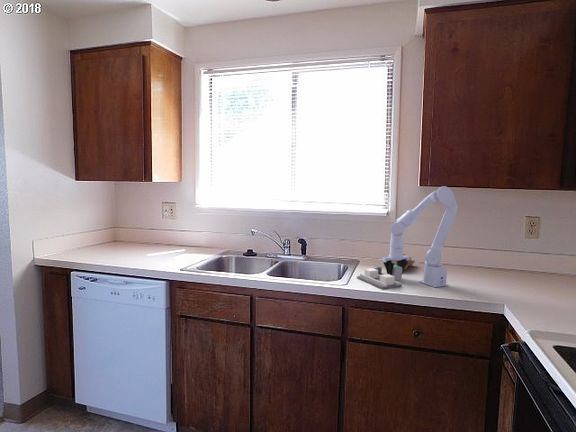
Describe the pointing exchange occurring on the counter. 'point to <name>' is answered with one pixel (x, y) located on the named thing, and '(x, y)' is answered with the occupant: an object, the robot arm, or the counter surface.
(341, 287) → the counter surface
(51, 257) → the counter surface
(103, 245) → the counter surface
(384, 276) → the rail board
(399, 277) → the module
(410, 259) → the sponge
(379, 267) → the knob
